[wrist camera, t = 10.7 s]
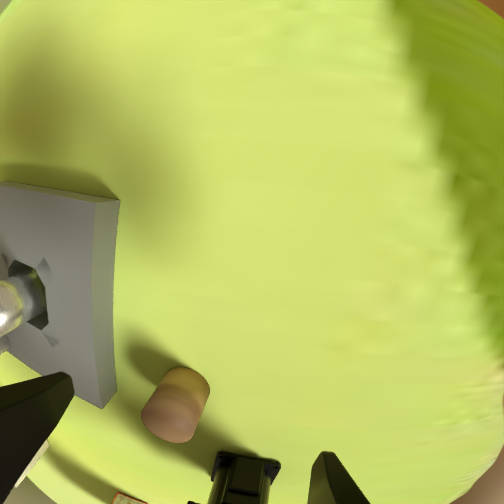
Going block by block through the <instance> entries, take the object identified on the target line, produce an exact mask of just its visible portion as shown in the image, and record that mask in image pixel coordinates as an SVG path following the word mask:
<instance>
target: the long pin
mask: <svg viewBox="0 0 504 504" xmlns="http://www.w3.org/2000/svg"><path fill="white" fill-rule="evenodd" d="M46 310H47V302H46V289H45V286H44V284H43V283H42V281H41V279H40V277H39V275H38V273H37V271H36V269H35V268H31V269H29V270H26V271H23V272H21V273H18V274H16V275H13V276H11V277H8V278H6V279H3V280H1V281H0V337H2V336H3V335H5V334H7V333H8V332H10V331H12V330H13V329H15V328H17V327H18V326H20V325H22V324H23V323H25V322H27V321H29V320H30V319H32V318H34V317H35V316H37V315H39V314H41V313H42V312H44V311H46Z"/></svg>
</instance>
